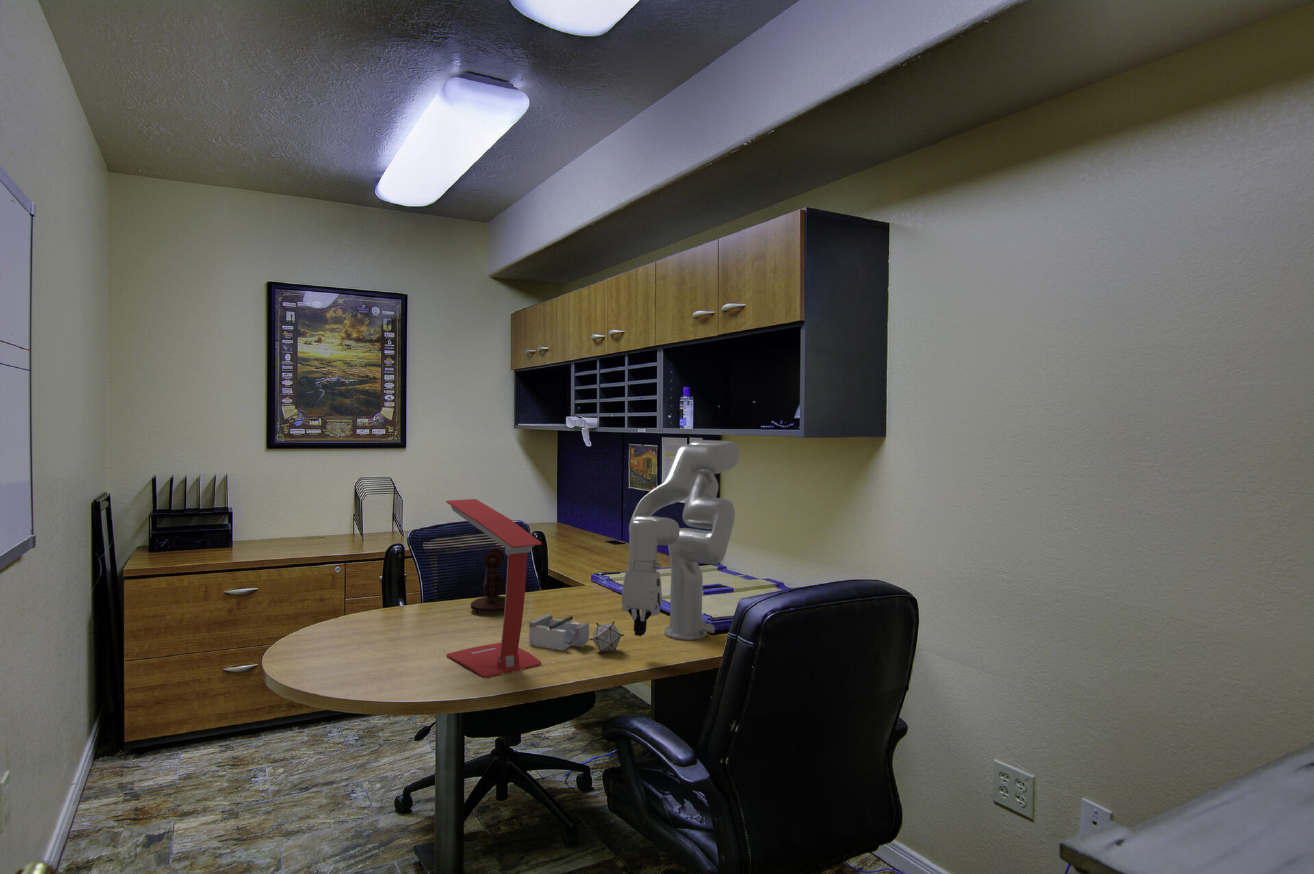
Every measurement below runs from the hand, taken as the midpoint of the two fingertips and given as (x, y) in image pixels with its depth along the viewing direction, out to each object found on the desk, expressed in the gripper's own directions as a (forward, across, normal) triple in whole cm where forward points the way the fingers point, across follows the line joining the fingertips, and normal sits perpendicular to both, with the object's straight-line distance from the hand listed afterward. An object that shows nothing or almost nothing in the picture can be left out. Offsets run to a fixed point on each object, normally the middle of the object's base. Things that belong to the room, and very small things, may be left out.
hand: (639, 634), depth 189 cm
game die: (+7, +10, -1) cm, 12 cm away
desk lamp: (+7, +36, +17) cm, 40 cm away
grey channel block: (+5, +22, -1) cm, 22 cm away
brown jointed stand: (+6, +63, -21) cm, 67 cm away
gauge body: (+6, +27, -1) cm, 28 cm away
